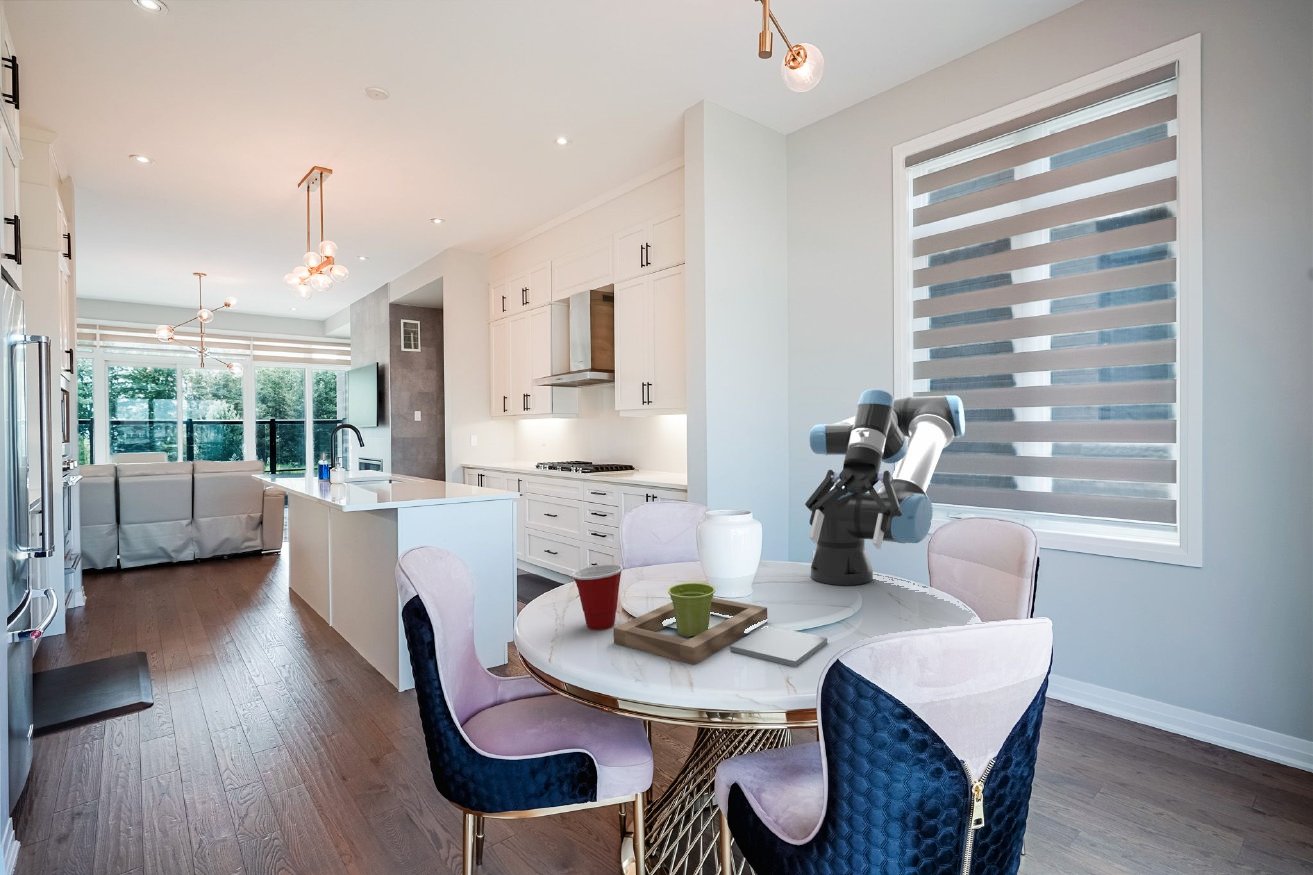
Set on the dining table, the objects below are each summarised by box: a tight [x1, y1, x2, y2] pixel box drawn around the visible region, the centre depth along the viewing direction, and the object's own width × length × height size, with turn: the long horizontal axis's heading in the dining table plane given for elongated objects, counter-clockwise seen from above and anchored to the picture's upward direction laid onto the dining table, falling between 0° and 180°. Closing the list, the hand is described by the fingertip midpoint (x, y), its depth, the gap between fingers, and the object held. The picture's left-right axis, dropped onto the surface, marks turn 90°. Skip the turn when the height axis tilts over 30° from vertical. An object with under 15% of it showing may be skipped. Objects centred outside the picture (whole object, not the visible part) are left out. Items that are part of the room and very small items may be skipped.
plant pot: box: [667, 582, 716, 638], centre depth 128 cm, size 9×9×9 cm
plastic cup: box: [570, 563, 624, 631], centre depth 135 cm, size 11×11×12 cm
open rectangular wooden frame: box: [612, 597, 768, 665], centre depth 128 cm, size 26×19×3 cm
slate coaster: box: [729, 626, 828, 668], centre depth 119 cm, size 13×13×1 cm
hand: (843, 543), depth 132 cm, fingers open, 13 cm apart
